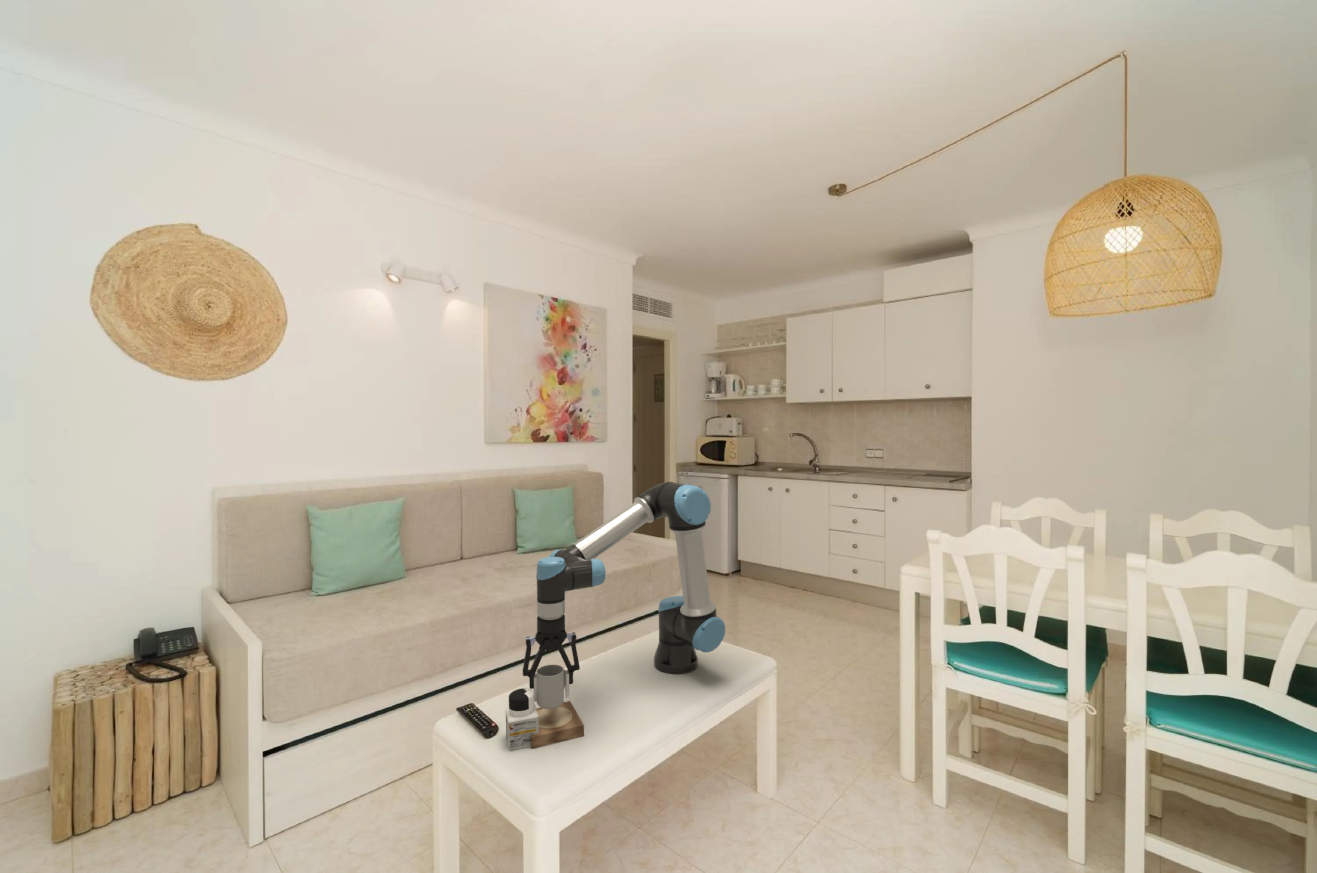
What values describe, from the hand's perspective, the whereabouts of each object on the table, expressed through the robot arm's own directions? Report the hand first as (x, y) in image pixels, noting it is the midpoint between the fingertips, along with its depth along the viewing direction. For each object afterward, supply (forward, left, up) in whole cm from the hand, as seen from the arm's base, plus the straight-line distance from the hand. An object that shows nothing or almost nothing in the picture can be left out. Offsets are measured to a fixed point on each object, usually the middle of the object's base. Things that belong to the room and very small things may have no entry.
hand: (551, 697), depth 152 cm
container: (+8, +3, -9) cm, 13 cm away
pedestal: (0, 0, -9) cm, 9 cm away
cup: (-1, 0, -1) cm, 1 cm away
